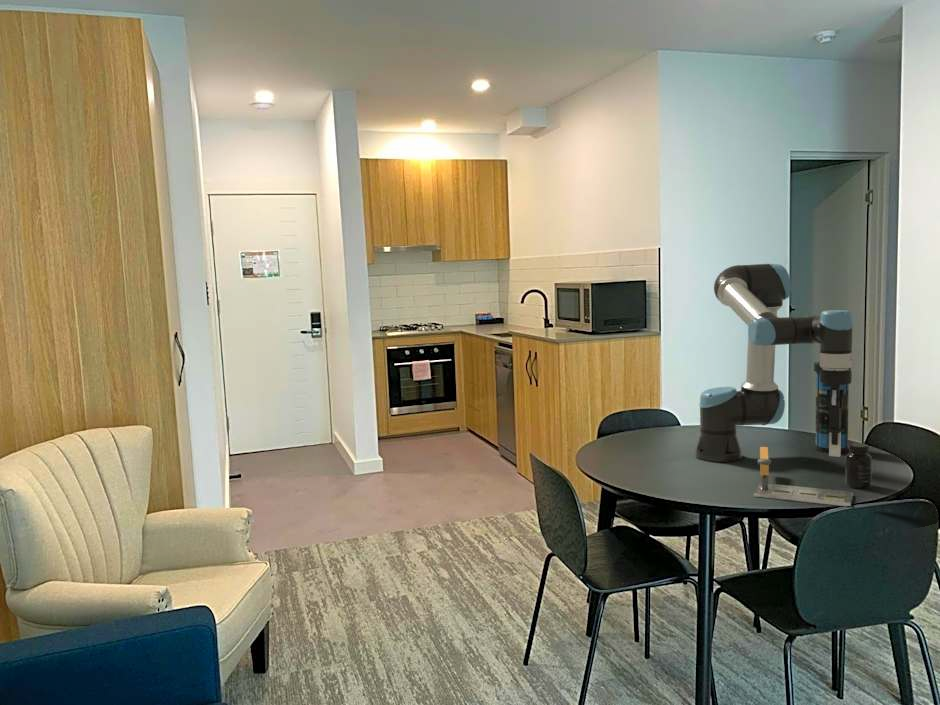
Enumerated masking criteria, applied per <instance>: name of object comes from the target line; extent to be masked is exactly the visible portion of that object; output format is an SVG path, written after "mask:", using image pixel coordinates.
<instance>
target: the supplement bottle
mask: <svg viewBox="0 0 940 705" xmlns="http://www.w3.org/2000/svg"><path fill="white" fill-rule="evenodd" d="M848 450H849V451H848V452H847V454H846V455H845V462H844V463H845V469H844V470H845V472H844V473H845V474H844V476H845V477H844V478H845V480H844V481H845V486H847V487H849V488H852V489H858V490H867V489H870V488H872V486H873V457H872V456H871V454H869V451H870V450H869V445H868V444H866V443H859V442H856V443H855V442H853V443H850V444H849V448H848Z"/></svg>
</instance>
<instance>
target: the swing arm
mask: <svg viewBox="0 0 940 705" xmlns="http://www.w3.org/2000/svg"><path fill="white" fill-rule="evenodd" d="M757 464H758V465H759V471H760V472H759V473H760V474H759V475H760V476H761V475H768V476H770V474H769V473H770V465H771V464H772V460H771V459H769V448H768V446H759V458H758V459H757Z"/></svg>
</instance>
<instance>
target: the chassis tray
mask: <svg viewBox="0 0 940 705" xmlns="http://www.w3.org/2000/svg"><path fill="white" fill-rule="evenodd" d="M853 493H854V492H853V491H847V490H836V489H828V488H816V487H807V486H796V485H786V484H775V483H769V475H760V482H759V484H758V486H756V489H755V490H754V492H753V497H755V498H765V499H772V500H773V499H775V500H776V499H777V500H783V501H792V502H802V503H809V504H810V503H811V504H818V505H819V504H820V505H828V506H829V505H831V506H838V507H847V506H850V507H851V505H852V502H853V501H852V500H853Z"/></svg>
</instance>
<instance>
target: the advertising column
mask: <svg viewBox="0 0 940 705" xmlns="http://www.w3.org/2000/svg"><path fill="white" fill-rule="evenodd" d="M821 369H822V367H820V361H817V362H814V363H813V372H815V446H814V447H815V450H816V451H817V450H818V451H817V452H820V451H821V452H820V453H825V452H826V453H825V454H829V432H826V430H829V407H828V398H827V391H828V389H830V385H829V384H823V383H821V382H820V370H821ZM849 369H850V370H851V371H852V366H851V367H850V368H849ZM849 386H850V384H847V385H841V390H844V396H843V405H842V407H841V424H842V425H841V428H842V429H844V431H840V432H841V454H844V453H848V452H849V451H848V450H849V391H850V390H849V388H850V387H849Z"/></svg>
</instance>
